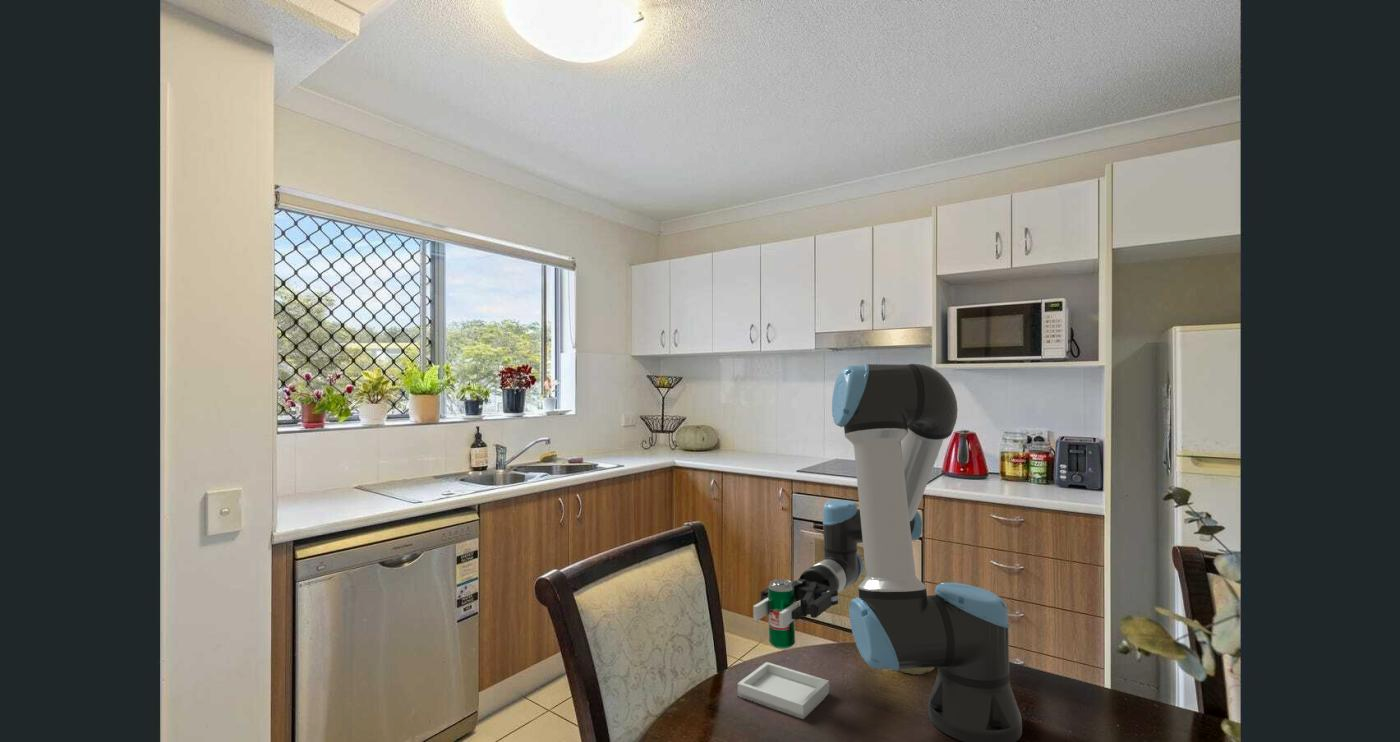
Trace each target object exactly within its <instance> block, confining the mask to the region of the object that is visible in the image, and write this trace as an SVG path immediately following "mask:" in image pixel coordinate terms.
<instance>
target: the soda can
mask: <svg viewBox="0 0 1400 742" xmlns="http://www.w3.org/2000/svg"><path fill="white" fill-rule="evenodd" d="M792 582H793V581H792V580H789V579H786V578H776V579H772V580H770V581H769V585H768V587H767V588H768V611H769V614H768V642H769V643H770V645H772V647H774V648H777V649H782V650H785V649H790V648H791V647H793V646H794V645H795V643H796V620H794V621H793V622H791V623H790V624H788V625H787V626H786V627H784V628H780V624H779V613H780V612H781V611H783V610H784V609H786V608H787V607H789V606H790V605H792V604H793V603H795V602H794V587H793V585H792Z"/></svg>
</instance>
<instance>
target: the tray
mask: <svg viewBox="0 0 1400 742" xmlns="http://www.w3.org/2000/svg"><path fill="white" fill-rule="evenodd" d="M828 694H829V695H830V680H828V679H825V678H821V677H818V676H815V675H812V674H808V673H805V672H802V671H799V670H796V669H795V670H794V669H791V668H788V667H785V666H781V665H778V664H774V663H772V662H768V661H766V662H764V663H763V664H762V665H760V666H758V667H757V668H756V669H755V670H754V671H752V672H751V673H750V674H748V675H747V676H746V677H744V678H743V679H741V680H740V681H739V682H738V683H737V697H738V696H739V697H738V698H742V699H744V700H746V699H747V701H749V700H750V701H749V702H752V701H753V702H752V703H756V704H759V705H761V706H765V707H766V708H770V709H773V710H774V711H775V710H776V711H777V712H778V711H779V712H780V713H783V714H787V715H789V716H791V717H792V716H793V717H795V718H798V719H800V720H804V719H805V718H806V717H807V716H808V715H810V713H812V711H814V710H815V708H817V707H818V705H820V703H822V701H824V700H825V697H826V696H827V695H828ZM829 695H828V696H829ZM828 696H827V697H828ZM827 697H826V698H827Z"/></svg>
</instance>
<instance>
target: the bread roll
mask: <svg viewBox="0 0 1400 742" xmlns="http://www.w3.org/2000/svg"><path fill="white" fill-rule="evenodd" d="M935 668H936V667H931V668H912V669H899V670H897V671H899V672H901V673H903V674H908V673H909V675H916V674H918V675H923V674H925V673H931V672H932V671H933V670H935ZM930 671H931V672H930Z"/></svg>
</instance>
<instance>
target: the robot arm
mask: <svg viewBox="0 0 1400 742" xmlns="http://www.w3.org/2000/svg"><path fill="white" fill-rule="evenodd" d="M955 394H956V393H955V391H954V389H953V386H952V385H951V384H950V382H949V381H948V379H946V378H945V376H944V375H943V374H942V373H941V372H940V371H938V370H936V369H934V368H932V367H931V366H928V365H926V364H925V365H924V364H920V363H910V364H886V363H885V364H884V363H883V364H878V363H877V364H875V363H874V364H870V363H869V364H867V363H863V364H859V365H847V366H845V367H844V368H842V369H841V371H840V372H839V373H838V375H837V377H836V380H835V382H834V386H833V391H832V397H831V398H832V399H831V400H832V401H831V413H832V418H833V422H834V424H835V426H838V427H840V428H843V431H844V438H845V439H847V441H849V442H850V443H852V445H853V450H854V451H853V452H854V461H855V472H856V481H857V482H856V483H857V495H858V504H859V508H857V507H858V506H857V504H856V503H855V502H854V501H851V500H845V499H844V500H843V499H833V500H828V501H827V502H825V504H824V505H823V512H822V513H823V514H822V515H823V516H822V517H823V519H822V529H823V559H822V560H821V561H819V562H817V563H816V564H815V563H814V565H812V566H811V567H809V568H808V569H806V570H804V571H803V572H802V573H801V575H800V576H799V579H798V580H797V579H796V580H793V581H791V582H792V585H793V587H794V602H795V603H793V604H792V605H790V606H789V607H787V608H786V609H784V610H783V611H781V612H780V613H779V624H780V628H784V627H786V626H787V625H788V624H790V623H791V622H793V621H794V620H795V621H797V620H800V619H801V618H802V617H808V615H810V617H811V618H813V619H816V618H818V617H819V616H820V615H821V614H823V613H824V612H826V611H827V610H828V609H829V608H831V607H832V606H835V605H838V604H839V596H838V595H839V593H841V592H842V591H843V590H845V589H846V588H848V587H849V586H851V585H853V584H855V583H856V582H857V581H858V579H859V578H860V577H861V576H862V574H863V572H865V577H864V579H863V580H862V581H861V583H860V584H859V585H858V597H857V596H855V598H853V599H851V600H850V602H849V610H848V615H849V623H850V627H851V633H852V635H853V640H854V642H855V645H856V647H857V650H858V652H859V654H860V656H861V658H862V659H863V661H864V662H865V664H867V665H868V666H869V667H871V669H875V670H892V671H895V672H896V671H898V670H899V669H912V668H931V667H935V668H937V673H936V676H935V680H934V682H933V685H932V688H931V691H930V694H929V698H928V701H927V714H928V715H927V716H928V719H929V720H930V722H931V723H932V725H933V726H935V728H937V730H939V731H940V732H942V733H944V734H945V735H947V736H949V737H951V738H952V739H955V740H958V741H961V742H1017V741H1019V740H1020V738H1021V737H1022V735H1023V720H1022V715H1021V711H1020V709H1019V707H1018V704H1017V700H1016V697H1015V695H1014V692H1013V689H1012V686H1011V683H1010V682H1011V681H1010V680H1011V679H1010V645H1009V644H1010V639H1009V637H1010V636H1009V634H1010V633H1009V628H1010V627H1011V626H1010V625H1011V624H1010V620H1009V613H1008V606H1007V604H1006V602H1005V601H1004V600H1003V598H1001V597H1000V596H999V595H997V594H995V593H994V592H993V591H992V592H991V591H990V590H987V589H984V588H982V587H977V586H974V585H970V584H965V583H959V582H941V583H939V584H937V585H936V587H935V589H934V593H935V594H933V595H931V594H930V595H928V593H927V592H928V591H927V588H926V587H927V586H926V585H925V584H924V583H923V582H922V581H921V580H920V579H919V578H918V577H917V575H916V567H915V557H914V548H913V541H917V540H918V539H920V537H921V535H922V533H923V530H922V528H923V521H922V517H921V514H920V512H919V511H918V509H919V506H920V504H921V501H922V498H923V495H924V493H925V492H926V491H925V490H926V488H927V485H928V483H929V479H930V477H931V474H932V472H933V469H934V466H935V464H936V461H937V458H938V455H939V453H940V450H941V447H942V445H943V443H944V441H945V440H947V439H949V437H950V436H952V434H953V432H954V429H955V427H956V424H957V419H958V402H957V397H956V395H955ZM858 544H862V547H863V548H862V550H863V557H864V558H863V559H864V562H863V559H862V558H861V555H860V554H859V553H858ZM864 569H865V571H864ZM799 601H800V602H799ZM752 607H753V608H752V612H753V613H752V615H753V621H755V622H758V621H760V620H761V619H762V618H764V617H766V616H767V615H769V611H768V587H767V588H765V589H763V590H761V591H760V601H758V602H757V603H756V604H754V605H752Z"/></svg>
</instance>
